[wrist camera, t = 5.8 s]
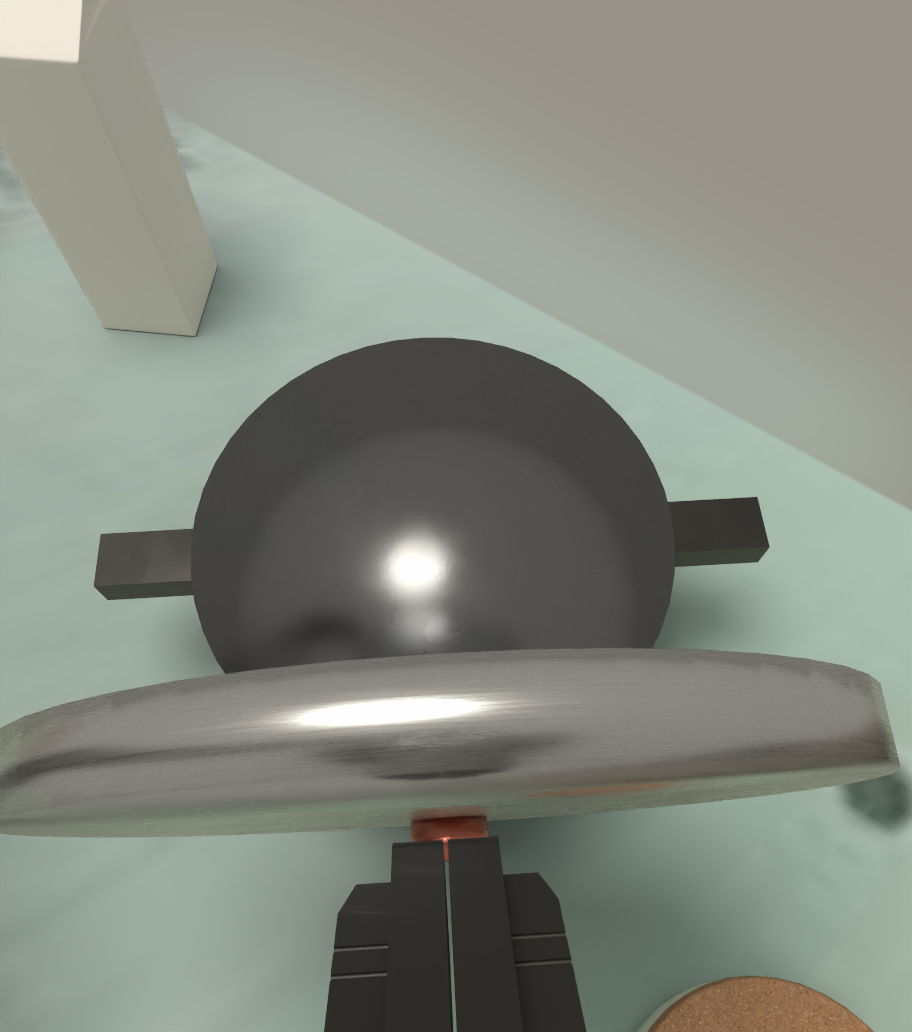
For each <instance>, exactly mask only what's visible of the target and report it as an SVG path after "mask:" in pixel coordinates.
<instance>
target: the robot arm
mask: <svg viewBox="0 0 912 1032" xmlns="http://www.w3.org/2000/svg"><path fill="white" fill-rule="evenodd" d="M448 858H449V879H450V899H451V920H452V940H453V961H454V981H455V1002H456V1022H457V1032H586V1028H585V1023H584V1018H583V1014H582V1009H581V1004H580V999H579V994H578V990H577V985H576V980H575V975H574V971H573V966H572V964H571V956H570V952H569V947H568V942H567V937H566V935H565V928H564V923H563V918H562V913H561V909H560V904H559V899H558V898H557V896H556V895H555V894H554V893H553V891H552V890H551V889H550V887H549V886H548V885H547V884H546V882H545V881H544V880H543V879H542V877H541V876H540V875H539V873H522V874H507V875H503V871H502V864H501V856H500V849H499V841H498V837H497V836H494V837H478V838H463V839H448ZM324 1032H453V1016H452V993H451V971H450V951H449V932H448V914H447V897H446V880H445V863H444V846H443V840H435V841H420V842H404V843H393V846H392V866H391V882H389V883H374V884H359V885H356V886H355V887H354V889H353V891H352V892H351V894H350V895H349V897H348V899H347V900H346V902H345V903H344V905H343V907H342V908H341V910H340V911H339V913H338V917H337V926H336V934H335V943H334V954H333V960H332V969H331V981H330V986H329V994H328V1003H327V1012H326V1020H325V1029H324Z"/></svg>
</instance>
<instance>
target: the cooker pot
mask: <svg viewBox="0 0 912 1032" xmlns="http://www.w3.org/2000/svg"><path fill="white" fill-rule="evenodd" d="M768 548H769V543H768V539H767V535H766V531H765V527H764V523H763V519H762V514H761V510H760V506H759V502H758V498H757V497H749V498H731V499H713V500H696V501H678V502H667V498H666V494H665V490H664V488H663V485H662V483H661V481H660V478H659V476H658V474H657V471H656V469H655V466H654V464H653V462H652V461H651V459H650V457H649V456H648V454H647V452H646V450H645V449H644V447H643V445H642V444H641V442H640V440H639V439H638V438H637V436H636V435H635V434H634V432H633V431H632V430H631V429H630V427H629V426H628V425H627V424H626V422H625V421H624V420H623V418H622V417H621V416H620V415H619V414H618V413H617V412H616V411H615V410H614V409H613V408H612V407H611V406H610V405H609V404H608V403H607V402H606V401H605V400H604V399H603V398H601V397H600V396H599V395H597V394H596V393H595V392H594V391H592V390H591V389H590V388H588V387H587V386H586V385H585V384H583V383H582V382H581V381H579V380H577V379H576V378H574V377H573V376H571V375H569V374H568V373H566V372H564V371H563V370H561V369H559V368H558V367H556V366H554V365H551V364H549V363H547V362H545V361H543V360H540V359H538V358H536V357H534V356H532V355H529V354H526V353H523V352H520V351H517V350H514V349H511V348H508V347H504V346H500V345H495V344H491V343H486V342H481V341H475V340H466V339H457V338H416V339H406V340H396V341H391V342H386V343H381V344H376V345H372V346H367V347H364V348H361V349H358V350H355V351H352V352H349V353H346V354H342V355H340V356H337V357H335V358H333V359H331V360H329V361H326V362H324V363H322V364H320V365H317V366H315V367H313V368H312V369H310V370H308V371H307V372H305V373H303V374H302V375H300V376H298V377H297V378H295V379H293V380H291V381H290V382H289V383H287V384H286V385H285V386H283V387H282V388H281V389H279V390H278V391H277V392H275V393H274V394H273V395H271V396H270V397H269V398H268V399H267V400H266V401H264V402H263V403H262V404H261V405H260V406H259V407H258V408H257V409H256V410H255V411H254V412H253V413H252V414H251V415H250V416H249V417H248V418H247V419H246V420H245V422H244V423H243V424H242V425H241V426H240V428H239V429H238V430H237V431H236V433H235V434H234V435H233V436H232V438H231V439H230V440H229V442H228V443H227V445H226V447H225V448H224V450H223V451H222V453H221V455H220V456H219V458H218V459H217V461H216V463H215V465H214V467H213V469H212V471H211V473H210V476H209V478H208V480H207V482H206V484H205V487H204V489H203V492H202V495H201V499H200V502H199V505H198V509H197V512H196V515H195V521H194V528H193V529H182V530H164V531H147V532H129V533H111V534H101V537H100V544H99V551H98V559H97V566H96V574H95V581H94V587H95V588H96V589H97V590H98V591H99V592H100V593H101V594H102V595H103V596H104V597H105V598H106V599H107V600H117V599H134V598H151V597H168V596H186V595H194V601H195V605H196V609H197V612H198V616H199V619H200V622H201V626H202V629H203V632H204V634H205V637H206V639H207V641H208V643H209V645H210V647H211V649H212V652H213V654H214V656H215V658H216V660H217V662H218V663H219V665H220V666H221V668H222V669H223V671H224V672H225V674H229V673H237V672H244V671H251V670H259V669H268V668H278V667H287V666H297V665H306V664H316V663H325V662H335V661H345V660H358V659H371V658H385V657H398V656H411V655H425V654H439V653H461V652H482V651H504V650H526V649H584V648H643V649H652V647H653V645H654V643H655V641H656V639H657V637H658V635H659V633H660V630H661V627H662V624H663V621H664V618H665V615H666V612H667V609H668V606H669V602H670V596H671V590H672V585H673V579H674V567H682V566H699V565H717V564H734V563H751V562H758V561H759V560H760V559H761V557H762V556H763V555H764V553H765V552H766V551H767V550H768Z"/></svg>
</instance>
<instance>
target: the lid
mask: <svg viewBox="0 0 912 1032" xmlns="http://www.w3.org/2000/svg"><path fill="white" fill-rule="evenodd" d="M898 770H900V763H899V759H898V754H897V750H896V746H895V742H894V738H893V734H892V730H891V725H890V721H889V717H888V713H887V709H886V705H885V701H884V697H883V692H882V688H881V684H880V682H878V681H877V680H876V679H874V678H873V677H872V676H870V675H869V674H866V673H864V672H861V671H858V670H855V669H852V668H849V667H846V666H842V665H837V664H832V663H827V662H821V661H816V660H811V659H805V658H796V657H787V656H778V655H769V654H760V653H746V652H729V651H712V650H695V649H643V648H584V649H526V650H504V651H482V652H461V653H439V654H425V655H411V656H398V657H385V658H371V659H358V660H345V661H335V662H325V663H316V664H306V665H297V666H287V667H278V668H268V669H259V670H251V671H244V672H237V673H229V674H222V675H215V676H208V677H201V678H194V679H186V680H179V681H173V682H168V683H162V684H157V685H151V686H146V687H140V688H135V689H129V690H124V691H118V692H112V693H108V694H104V695H100V696H96V697H91V698H87V699H83V700H79V701H74V702H70V703H66V704H62V705H58V706H55V707H52V708H49V709H46V710H43V711H40V712H37V713H34V714H31V715H27V716H24V717H22V718H20V719H18V720H16V721H14V722H12V723H10V724H8V725H6V726H4V727H2V728H0V834H8V835H22V836H44V837H175V836H213V835H243V834H269V833H293V832H314V831H335V830H354V829H373V828H390V827H407V826H411V842H420V841H435V840H443V846H444V861H449V858H448V839H463V838H478V837H488V826H487V821H498V820H512V819H525V818H538V817H551V816H564V815H576V814H588V813H600V812H611V811H622V810H633V809H644V808H654V807H665V806H675V805H685V804H695V803H704V802H714V801H723V800H732V799H741V798H749V797H757V796H766V795H774V794H781V793H789V792H796V791H804V790H810V789H817V788H824V787H831V786H836V785H842V784H848V783H854V782H859V781H864V780H868V779H873V778H878V777H881V776H885V775H888V774H892V773H894V772H896V771H898Z"/></svg>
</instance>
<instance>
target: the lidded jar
mask: <svg viewBox="0 0 912 1032" xmlns="http://www.w3.org/2000/svg"><path fill="white" fill-rule="evenodd" d="M638 1032H873V1031H872V1030H871V1029H870V1028H869V1027H868V1026H867V1025H866V1024H865V1023H864V1022H863V1021H862V1020H860V1019H859V1018H858V1017H857V1016H855V1015H854V1014H853V1013H852V1012H851V1011H849V1010H848V1009H847V1008H846V1007H844V1006H842V1005H841V1004H839V1003H838V1002H836V1001H834V1000H833V999H831V998H829V997H828V996H826V995H825V994H823V993H820V992H818V991H816V990H813V989H811V988H809V987H806V986H804V985H802V984H799V983H795V982H791V981H787V980H783V979H779V978H773V977H760V976H742V977H732V978H725V979H722V980H714V981H710V982H706V983H703V984H700V985H696V986H693V987H691V988H689V989H687V990H685V991H683V992H681V993H679V994H677V995H675V996H673V997H672V998H670V999H669V1000H668V1001H666V1002H665V1003H664V1004H662V1005H661V1006H660V1007H659V1008H657V1009H656V1010H655V1011H654V1012H653V1013H652V1014H651V1015H650V1016H649V1018H648V1019H647V1020H646V1021H645V1022H644V1023H643V1024H642V1025H641V1027H640V1028H639V1030H638Z"/></svg>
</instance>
